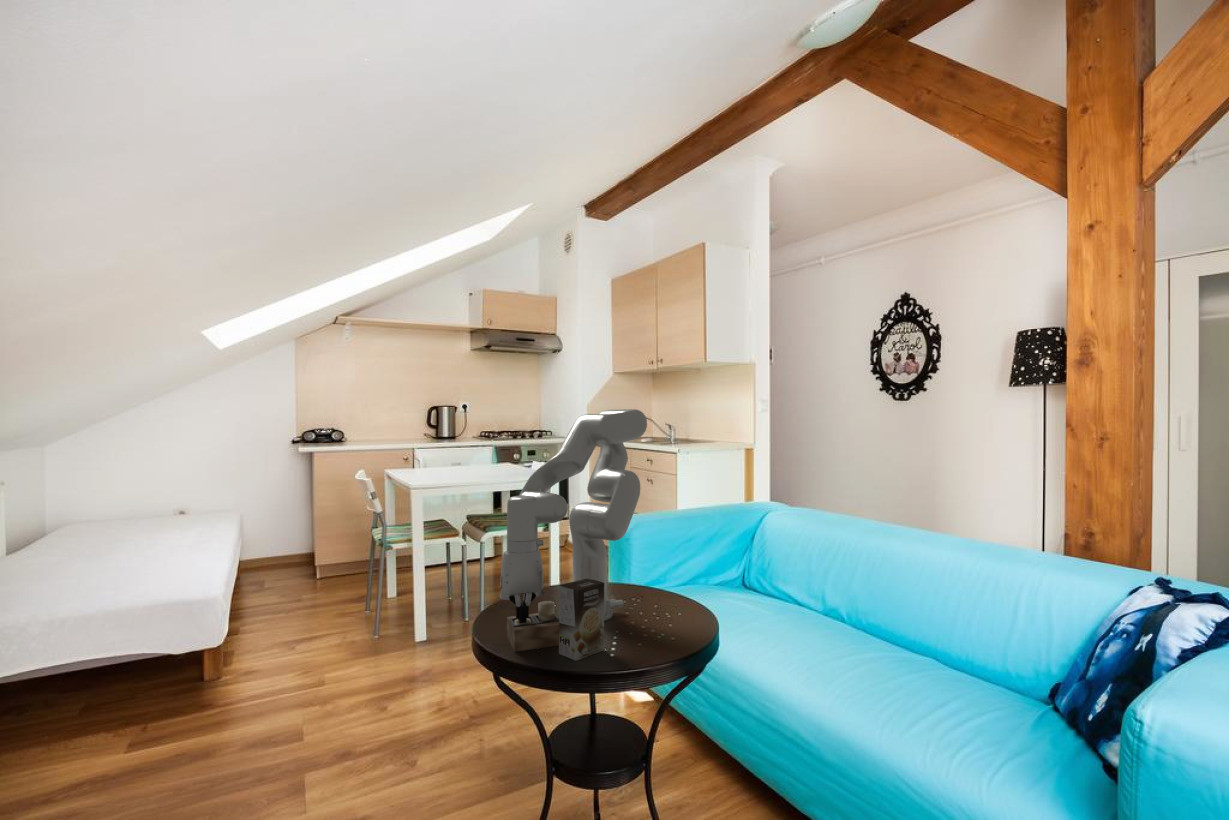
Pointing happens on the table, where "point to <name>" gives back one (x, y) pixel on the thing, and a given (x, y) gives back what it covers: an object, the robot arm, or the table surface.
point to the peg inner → (546, 611)
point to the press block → (532, 633)
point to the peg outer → (522, 622)
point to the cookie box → (581, 618)
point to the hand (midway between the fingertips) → (522, 621)
